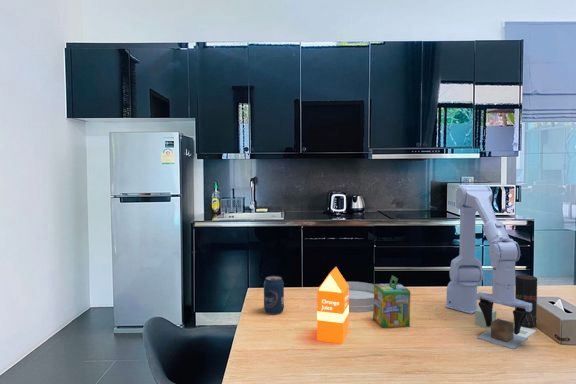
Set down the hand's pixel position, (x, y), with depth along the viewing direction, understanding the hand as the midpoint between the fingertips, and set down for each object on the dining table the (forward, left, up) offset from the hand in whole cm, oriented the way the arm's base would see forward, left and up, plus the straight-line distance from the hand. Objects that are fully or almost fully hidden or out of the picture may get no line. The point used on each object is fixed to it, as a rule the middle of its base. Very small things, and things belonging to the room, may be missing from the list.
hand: (502, 329), depth 118 cm
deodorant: (0, +17, -3) cm, 17 cm away
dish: (-50, -6, -3) cm, 50 cm away
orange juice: (-34, -35, -3) cm, 49 cm away
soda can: (-62, -35, -3) cm, 71 cm away
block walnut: (0, 0, -2) cm, 2 cm away
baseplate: (0, 0, -3) cm, 3 cm away
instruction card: (+1, +9, -3) cm, 9 cm away
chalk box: (-29, -13, -3) cm, 32 cm away
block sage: (-8, +8, -3) cm, 11 cm away
